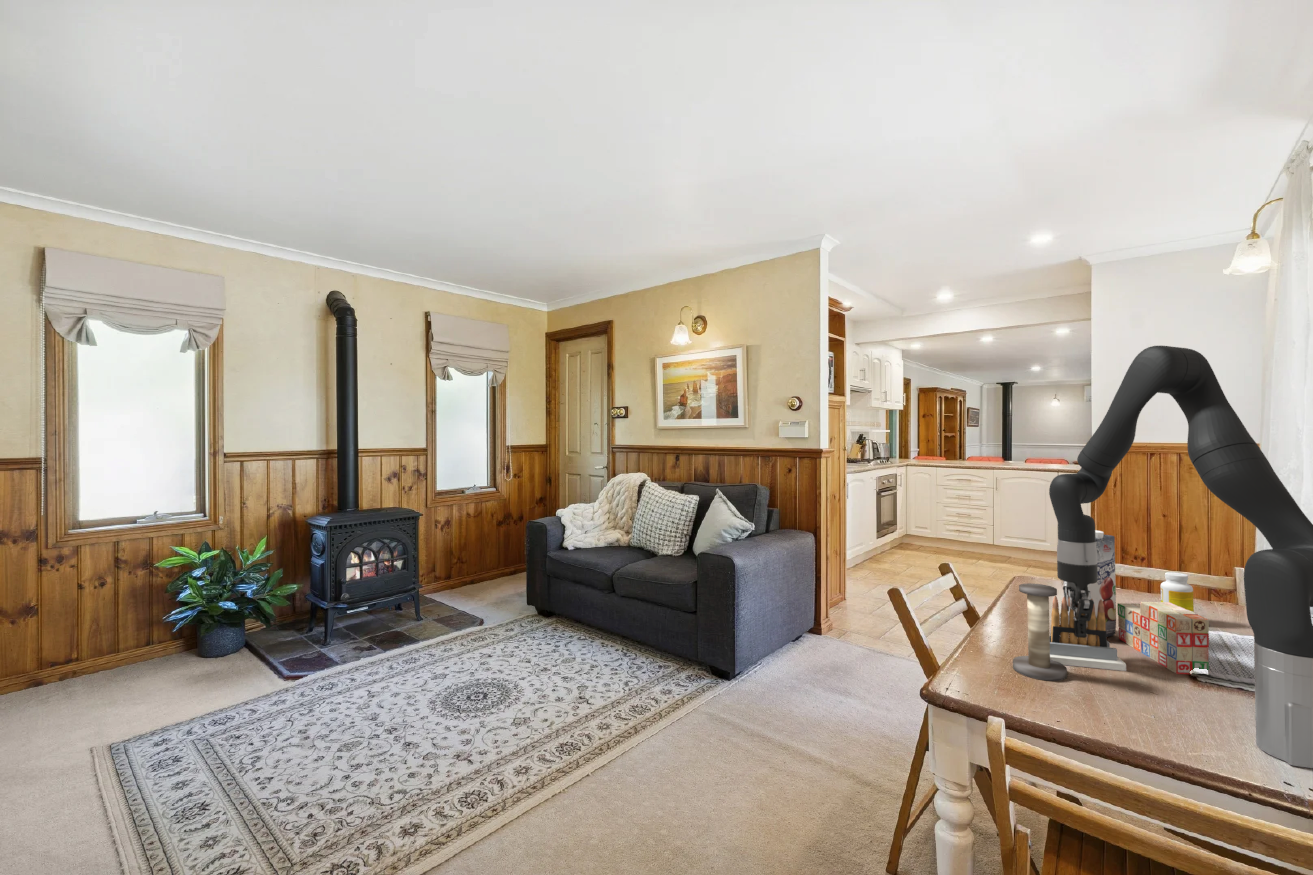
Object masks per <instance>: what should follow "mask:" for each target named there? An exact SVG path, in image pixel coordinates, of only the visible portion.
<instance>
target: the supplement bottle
mask: <svg viewBox="0 0 1313 875" xmlns="http://www.w3.org/2000/svg"><path fill="white" fill-rule="evenodd" d="M1164 577H1165V581H1163V582H1161V583H1160V602H1170V603H1172V604H1174V605H1177V606H1179V607H1181V608H1184V609H1186V610H1189V611H1192V612H1194V613H1195V609H1194V607H1195V605H1194V588H1193V586H1192V585H1191V584H1189V583H1188V580H1189V575H1188V574H1186V573H1181V572H1174V571H1167V572H1165V573H1164Z"/></svg>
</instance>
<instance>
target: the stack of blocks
mask: <svg viewBox="0 0 1313 875" xmlns="http://www.w3.org/2000/svg"><path fill="white" fill-rule="evenodd" d="M1116 608H1117V620H1118V622H1117V624H1118V626H1117V627H1118V640H1120V641H1122V642H1124V643H1125V644H1126V645H1128V646H1130V647H1131V648H1133V649H1134V650H1136V651H1138V652H1139V653H1140V654H1143V655H1145V656H1146V657H1149V658H1150V659H1151V660H1153V661H1155V662H1157V663H1158V664H1159V665H1161V666H1163V667H1165V668H1166V669H1168V670H1169V671H1171V672H1173V673H1174V674H1177V675H1190V674H1189V672H1190V671H1191V670H1193V669H1194V668H1199V669H1207V670H1210V662H1209V655H1210V654H1209V648H1210V634H1209V632H1210V631H1209V630H1210V629H1209V624H1210V623H1209V622H1210V621H1209V620H1210V619H1209V618H1205V617H1203V616H1201V615H1199V614H1198V613H1197V612H1195V611H1194V612H1192V611H1189V610H1186V609H1184V608H1181V607H1179V606H1177V605H1174V604H1172V603H1170V602H1161V601H1156V602H1155V601H1140V603H1137V602H1136V603H1132V602H1131V603H1128V602H1125V603H1123V602H1121V603H1119V602H1118V603H1116Z"/></svg>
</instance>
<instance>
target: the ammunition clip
mask: <svg viewBox="0 0 1313 875" xmlns="http://www.w3.org/2000/svg"><path fill="white" fill-rule="evenodd" d="M1091 600H1093V599H1091ZM1060 606H1061V607H1060V608H1059V600H1058V597H1057V595H1056V596H1053V599H1052V606H1051V607H1052V608H1051V616H1050V618H1051V619H1050V620H1051V621H1050V622H1051V624H1050V642H1054V643H1065V644H1076V645H1088V646H1099V647H1107V641H1108V640H1107V638H1108V637H1107V636H1106V619H1105V612H1104V604H1103V601H1102V600H1101V599H1100V601H1099V604H1098V614H1097V628H1096V616H1095V606H1093V610H1092V615H1091V620H1090V621H1087V622H1086V633H1087V636H1086V638H1080V637H1076V636H1075V635H1074V619H1073V610H1072V609H1071V608H1070V614H1069V615H1068V608H1067V601H1066V598H1065V597H1064V596H1063V597H1062V599H1061V605H1060ZM1075 606H1076V605H1075ZM1081 615H1083V614H1081ZM1096 637H1097V644H1096Z"/></svg>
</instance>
